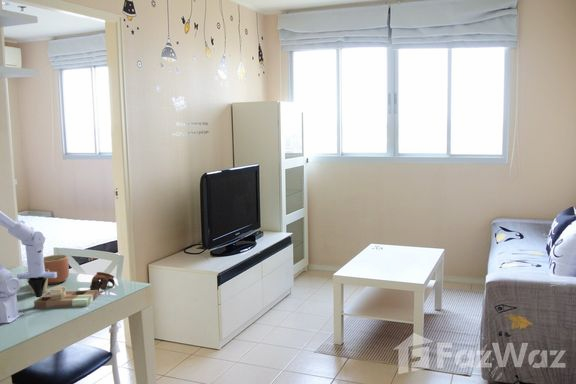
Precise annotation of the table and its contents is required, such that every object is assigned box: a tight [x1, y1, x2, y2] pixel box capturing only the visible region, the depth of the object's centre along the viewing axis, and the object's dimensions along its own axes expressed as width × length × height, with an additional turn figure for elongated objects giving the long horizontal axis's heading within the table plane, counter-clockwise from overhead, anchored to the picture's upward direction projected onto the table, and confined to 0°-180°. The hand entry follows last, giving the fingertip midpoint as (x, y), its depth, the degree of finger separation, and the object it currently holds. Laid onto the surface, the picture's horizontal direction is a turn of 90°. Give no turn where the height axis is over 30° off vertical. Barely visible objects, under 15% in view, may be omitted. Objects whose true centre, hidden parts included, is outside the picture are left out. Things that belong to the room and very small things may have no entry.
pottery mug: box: [89, 271, 115, 293], centre depth 221 cm, size 12×10×8 cm
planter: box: [43, 254, 70, 285], centre depth 235 cm, size 12×12×11 cm
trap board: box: [33, 289, 100, 309], centre depth 206 cm, size 12×20×2 cm, turn 89°
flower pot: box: [26, 269, 49, 296], centre depth 220 cm, size 9×9×9 cm
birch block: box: [49, 285, 66, 300], centre depth 203 cm, size 4×4×4 cm
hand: (39, 296), depth 203 cm, fingers closed
